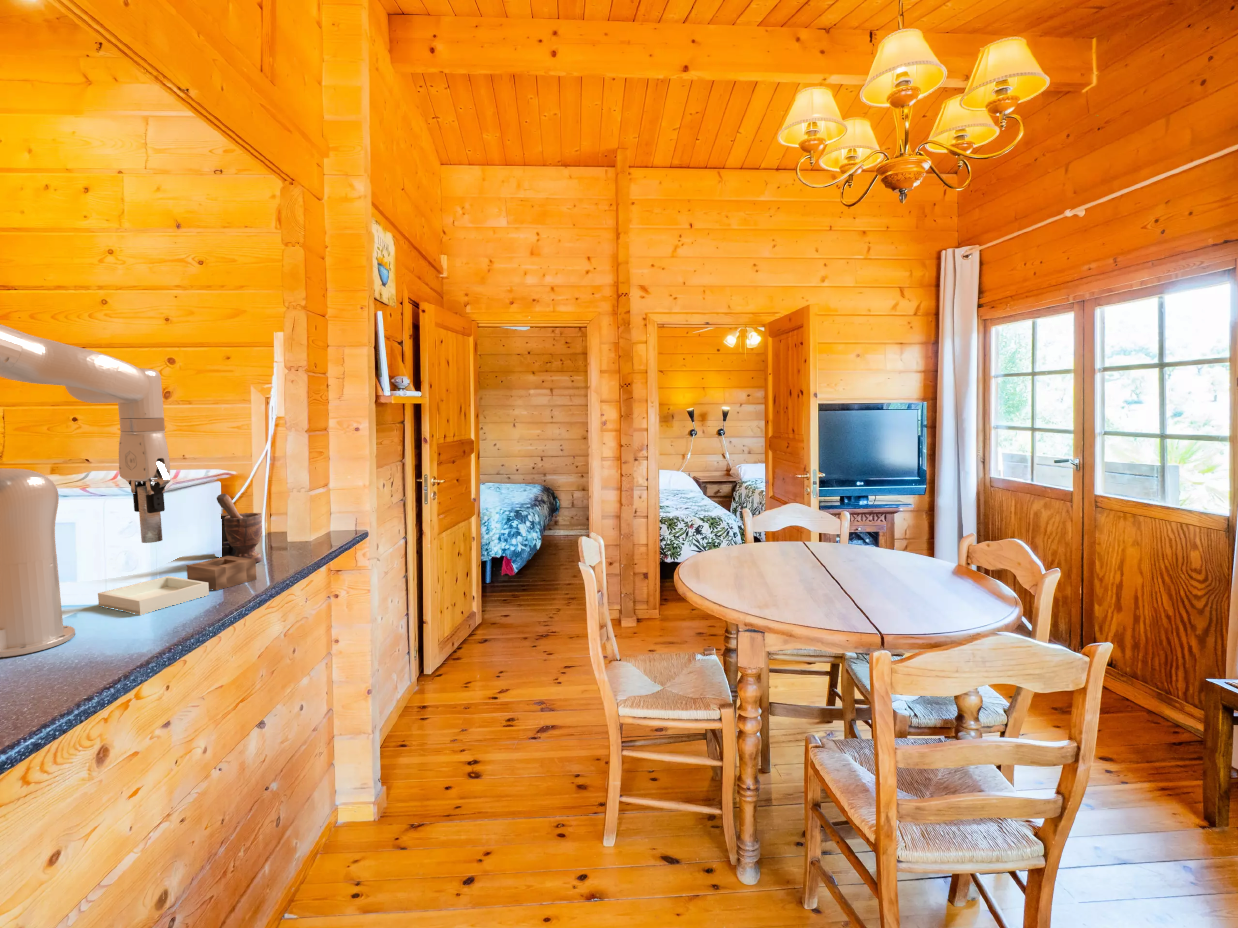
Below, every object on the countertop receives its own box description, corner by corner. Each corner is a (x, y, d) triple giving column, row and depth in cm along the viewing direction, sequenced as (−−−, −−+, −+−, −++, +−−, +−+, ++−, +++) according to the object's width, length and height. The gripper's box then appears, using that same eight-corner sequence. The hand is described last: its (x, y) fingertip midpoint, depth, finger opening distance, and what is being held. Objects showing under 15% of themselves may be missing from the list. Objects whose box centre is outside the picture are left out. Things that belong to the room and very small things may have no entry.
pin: (148, 543, 128) (143, 488, 127) (137, 542, 129) (133, 487, 128) (166, 539, 131) (162, 485, 130) (155, 538, 133) (151, 485, 132)
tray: (140, 615, 122) (139, 601, 122) (99, 606, 128) (97, 593, 127) (209, 595, 135) (208, 582, 135) (169, 588, 140) (168, 576, 140)
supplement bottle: (228, 558, 168) (226, 516, 167) (208, 557, 169) (205, 515, 168) (248, 553, 175) (245, 512, 174) (228, 551, 176) (225, 511, 175)
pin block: (216, 590, 139) (215, 569, 138) (187, 585, 142) (186, 565, 142) (256, 579, 148) (255, 559, 148) (228, 575, 152) (227, 555, 151)
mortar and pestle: (252, 568, 158) (247, 493, 156) (215, 570, 156) (211, 494, 154) (268, 557, 169) (264, 487, 167) (235, 559, 167) (230, 488, 166)
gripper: (98, 427, 127) (106, 511, 129) (148, 428, 121) (155, 517, 123) (137, 425, 134) (144, 506, 136) (186, 426, 128) (192, 511, 130)
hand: (149, 510), depth 130 cm, fingers closed on pin, 3 cm apart
